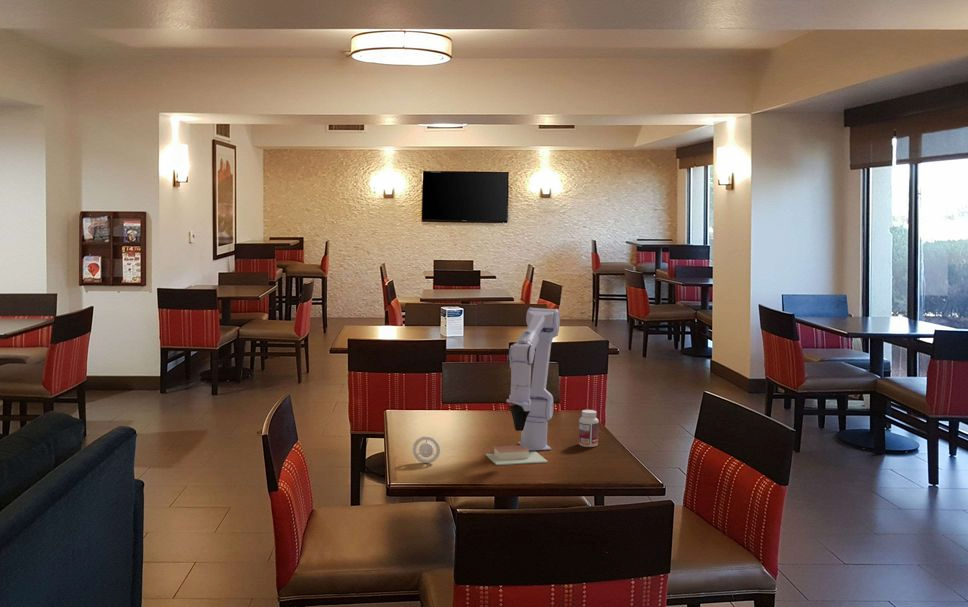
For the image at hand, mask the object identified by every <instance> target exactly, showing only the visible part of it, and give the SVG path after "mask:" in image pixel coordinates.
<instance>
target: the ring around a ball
mask: <svg viewBox="0 0 968 607" xmlns="http://www.w3.org/2000/svg"><path fill="white" fill-rule="evenodd" d="M422 441H423V442H422ZM424 441H425V442H424ZM428 441H429V442H428ZM421 442H422V443H421ZM430 442H431V443H430ZM420 443H421V444H420ZM419 444H420V445H419ZM433 444H434V446H435V447H434V446H433ZM418 445H419V448H418ZM417 448H418V451H419V452H417ZM434 448H436V451H435V453H434V450H435V449H434ZM412 453H413V456H414V458H415V459H416V460H417V461H418V462H420V463H423V464H430V463H433V462H435V461H436V460H437V459H438V458H439V456H440V453H441V446H440V444H439V442H438V441H437V440H436V439H435V438H434V437H431V436H421V437H419V438H417V440H416V441H415V442H414V443H413V446H412ZM419 455H421V457H420V456H419ZM432 455H433V457H432ZM422 457H423V458H422ZM429 457H431V458H429ZM424 458H428V459H424Z"/></svg>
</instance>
